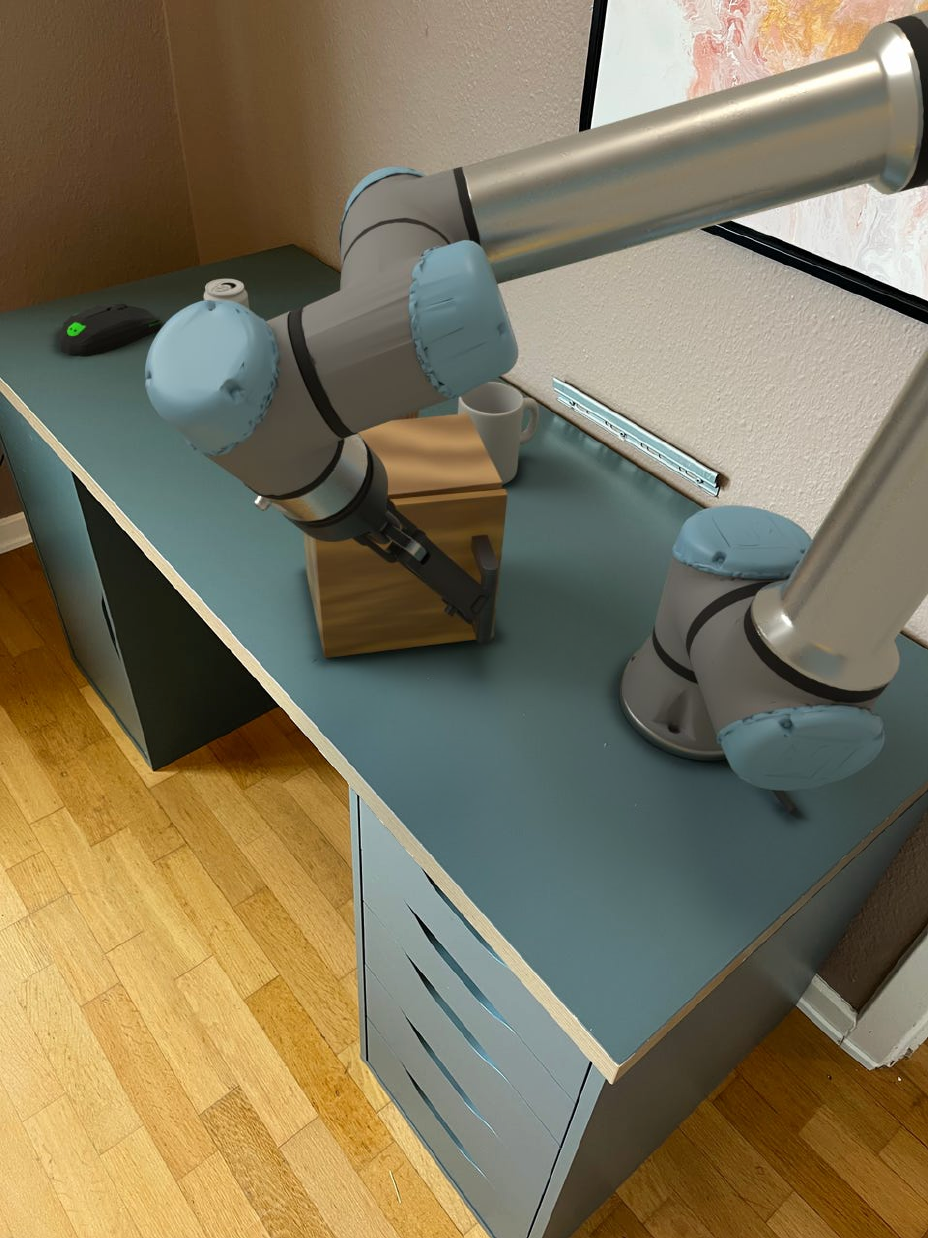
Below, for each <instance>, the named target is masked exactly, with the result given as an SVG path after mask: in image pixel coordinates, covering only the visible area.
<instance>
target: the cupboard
mask: <svg viewBox="0 0 928 1238" xmlns="http://www.w3.org/2000/svg"><path fill="white" fill-rule="evenodd" d="M359 434H360V435H361V438H362V439H363V440H364V441H365V442H366V443H367V444H368V445H369V447H370V448H371V449H372V450H373V451H374V452H375V454H376V455H377V456H378V457H379V458H380V460H381V461H382V463H383V465H384V467H385V470H386V473H387V477H388V495H387V498H388V499H401V498H412V497H423V496H434V495H445V494H456V493H467V492H478V491H489V490H500V489H503V485H502V480H501V478H500V476H499V474H498V472H497V470H496V468H495V466H494V464H493V462H492V460H491V458H490V456H489V454H488V452H487V450H486V448H485V446H484V444H483V442H482V440H481V438H480V436H479V434H478V432H477V430H476V428H475V426H474V424H473V422H472V420H471V418H470V416H469V414H468V413H466V414H458V413H456V414H455V413H454V414H446V415H445V414H444V415H435V416H434V415H433V416H425V417H418V418H412V419H401V420H392V421H389V422H386V423H383V424H381V425H378V426H375V427H372V428H370V429H367V430H364V431H361V432H359ZM302 535H303V546H304V558H305V569H306V576H307V581H308V586H309V587H308V588H309V591H310V597H311V600H312V605H313V609H314V615H315V619H316V624H317V629H318V634H319V639H320V643H321V648H322V650H323V640H322V627H321V614H320V602H319V589H318V576H317V563H316V550H315V538H312V537H310V536H309V535H307V534H306V533H304V532H303V531H302Z"/></svg>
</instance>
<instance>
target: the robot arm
mask: <svg viewBox="0 0 928 1238" xmlns="http://www.w3.org/2000/svg"><path fill="white" fill-rule="evenodd" d="M866 184H867V185H869V186H870V187H872V188H873V189H874V190H876V191H877V192H878V193H880V194H882V195H887V196H889V195H890V196H891V195H895V194H898V193H901V192H905V191H909V190H912V189H916V188H917V189H918V188H921V187H928V9H926V10H923V11H919V12H916V13H911V14H909V15H905V16H901V17H899V18H895V19H891V20H888V21H885V22H882V23H879V24H877V25H875V26H873V27H872V28H870V30H869V31H868V32H867V33H866V35H865V36H864V38H863V39H862V41H861V43H859V46H858V47H857V49H856V50H854V51H850V52H847V53H843V54H839V55H837V56H833V57H830V58H827V59H823V60H820V61H816V62H812V63H809V64H807V65H802V66H800V67H795V68H793V69H790V70H786V71H783V72H779V73H776V74H771V75H769V76H765V77H762V78H758V79H755V80H752V81H749V82H745V83H742V84H739V85H736V86H731V87H728V88H724V89H722V90H718V91H715V92H711V93H708V94H705V95H701V96H698V97H694V98H691V99H687V100H685V101H681V102H676V103H674V104H670V105H668V106H664V107H660V108H658V109H653V110H651V111H646V112H644V113H640V114H637V115H633V116H630V117H627V118H623V119H619V120H616V121H613V122H610V123H607V124H603V125H600V126H597V127H593V128H590V129H586V130H583V131H579V132H576V133H573V134H570V135H566V136H563V137H559V138H556V139H552V140H549V141H546V142H541V143H539V144H536V145H532V146H529V147H525V148H522V149H519V150H515V151H511V152H508V153H504V154H501V155H498V156H495V157H491V158H488V159H485V160H480V161H477V162H475V163H471V164H467V165H464V166H459V167H455V168H451V169H447V170H443V171H439V172H436V173H432V174H428V175H426V174H424V173H423V172H421V171H418V170H416V169H413V168H410V167H406V166H405V167H404V166H387V167H383V168H380V169H376V170H375V171H373V172H370V174H368V175H366V176H365V177H363V179H362V180H360V181H359V182H358V183H357V185H356V186H355V188H354V189H353V190H352V192H351V193H350V195H349V197H348V199H347V201H346V205H345V209H344V212H343V216H342V219H341V223H340V225H339V228H340V229H339V234H338V243H339V251H338V252H339V256H340V267H341V268H340V282H339V283H340V285H339V286H340V287H339V290H338V291H336V292H334V293H332V294H330V295H327V296H326V297H323V298H321V299H319V300H317V301H314V302H311V303H309V304H307V305H305V306H304V305H303V306H301V307H298V308H295V309H294V310H289V311H287V312H284V313H282V314H280V315H278V316H275V317H273V318H271V319H268V320H265V319H264V318H262V317H260V316H259V315H257V314H256V313H255V312H253V311H252V310H251V309H250V308H249V309H248V308H246V307H245V306H243V305H241V304H239V303H237V302H234V301H212V300H204V299H203V300H200V301H198V302H195V303H192V304H190V305H188V306H186V307H184V308H182V309H181V310H179V311H178V312H176V313H175V314H173V316H172V317H170V318H169V319H168V320H167V321H166V322H165V324H163V326H161V328H160V329H159V331H158V332H157V333H156V336H155V337H154V339H153V341H152V342H151V345H150V347H149V349H148V352H147V356H146V360H145V366H144V382H145V385H144V386H145V390H146V393H147V396H148V399H149V401H150V404H151V405H152V407H153V408H154V409H155V411H156V413H157V414H158V415H159V416H160V417H161V419H163V420H164V421H165V422H166V423H167V424H168V425H170V426H171V428H172V429H174V430H175V431H176V432H177V433H178V434H179V435H181V437H182V438H184V440H185V441H186V444H187V445H189V446H190V447H191V449H192V450H194V451H195V452H196V453H199V454H200V455H203V456H205V457H206V458H207V459H209V460H210V461H212V462H213V463H215V464H216V465H218V466H219V467H221V468H222V469H223V470H225V471H226V472H228V473H229V474H230V475H232V476H234V477H235V478H237V480H239V481H241V482H242V483H243V485H244V486H245V487H246V488H247V489H249V490H251V491H252V492H253V493H254V494H256V495H257V497H256V499H255V500H254V502H253V503H254V506H255V507H256V508H257V509H258V510H260V511H262V512H264V511H265V512H266V511H267V510H268V509H269V507H272V508H274V509H275V510H276V511H278V512H279V513H280V514H281V515H282V516H283V517H284V518H285V519H287V521H289V522H290V523H291V524H293V525H294V526H295V527H297V528H298V529H299V530H300V531H302V533H303V532H304V533H306V534H307V535H309V536H310V537H312V538H315V539H317V540H320V541H325V542H339V541H345V540H348V539H351V538H352V539H353V540H355V541H356V542H357V543H359V544H361V545H363V546H368V547H369V548H370V549H371V550H373V551H374V552H375V553H376V554H378V555H379V556H380V557H381V558H383V559H384V560H386V561H387V562H389V563H394V562H398V563H400V564H401V565H402V566H403V567H405V568H406V569H407V570H408V571H410V572H411V573H412V574H413V575H415V576H416V577H417V578H418V579H420V580H421V581H422V582H423V583H425V584H426V585H427V586H428V587H430V588H431V589H432V590H433V591H435V592H436V593H437V594H438V595H440V596H441V597H442V599H441V600H442V601H443V602H444V603H445V604H446V605H447V607H446V608H445V609H444V612H446V613H447V614H448V615H450V616H451V617H453V616H454V615H455V613H456V614H457V615H458V616H459V617H461V618H462V619H463V620H464V621H465V622H467V623H468V624H469V625H470V624H471V623H472V622H473V620H474V619H475V618H476V617H477V615H478V614H479V613H480V611H481V610H482V609H483V607H484V606H485V605H486V603H487V602H488V601H489V599H490V598H491V596H492V595H491V593H490V592H489V590H488V589H487V588H485V587H482V586H481V585H480V584H479V583H478V582H477V581H476V580H474V579H473V578H472V577H471V576H470V575H469V574H468V573H467V572H465V571H464V570H463V569H462V568H461V567H460V566H459V565H457V564H456V563H455V562H454V561H453V560H452V559H451V558H449V557H448V556H447V555H446V554H445V553H444V552H443V551H441V550H440V549H439V548H438V547H437V546H436V545H435V544H434V543H433V542H432V541H431V540H430V539H429V538H428V537H427V536H426V533H425V532H424V531H422V530H419V529H418V528H417V527H416V526H415V525H414V524H413V523H412V522H411V521H410V520H408V519H407V518H406V517H405V516H404V515H402V514H401V513H400V512H399V511H398V510H397V509H396V507H395V504H394V503H393V502H392V501H391V500H390V499H388V498H387V495H388V477H387V473H386V470H385V467H384V465H383V463H382V461H381V460H380V458H379V457H378V456H377V455H376V454H375V452H374V451H373V450H372V449H371V448H370V447H369V445H368V444H367V443H366V442H365V441H364V440H363V439H362V438H361V435H360V434H359V432H361V431H364V430H367V429H370V428H372V427H375V426H378V425H381V424H383V423H386V422H389V421H392V420H394V419H397V418H400V417H403V416H405V415H408V414H411V413H414V412H416V411H418V412H419V411H422V410H424V409H427V408H430V407H433V406H435V405H438V404H441V403H443V402H447V401H449V400H452V399H453V400H456V399H459V397H462V396H464V395H466V393H467V392H470V391H471V390H472V389H474V388H476V387H478V386H480V385H482V384H484V383H487V382H492V381H493V380H496V379H497V378H499V377H502V376H504V375H507V374H508V373H509V372H510V371H511V370H512V369H514V367H515V366H516V364H517V361H518V359H519V346H518V342H517V338H516V335H515V332H514V329H513V326H512V323H511V320H510V315H509V312H508V310H507V307H506V304H505V301H504V298H503V296H502V293H501V291H500V288H499V284H503V283H507V282H512V281H515V280H518V279H522V278H525V277H528V276H532V275H537V274H541V273H545V272H547V271H551V270H554V269H558V268H563V267H566V266H570V265H573V264H577V263H580V262H583V261H587V260H591V259H595V258H598V257H603V256H606V255H609V254H614V253H616V252H620V251H624V250H628V249H631V248H636V247H639V246H642V245H647V244H651V243H654V242H658V241H661V240H664V239H668V238H673V237H676V236H679V235H682V234H686V233H690V232H694V231H697V230H702V229H705V228H709V227H713V226H716V225H720V224H724V223H727V222H731V221H734V220H738V219H742V218H745V217H749V216H752V215H757V214H759V213H764V212H768V211H771V210H775V209H778V208H782V207H785V206H789V205H792V204H796V203H800V202H804V201H807V200H812V199H815V198H819V197H822V196H825V195H829V194H833V193H837V192H841V191H843V190H848V189H852V188H854V187H858V186H863V185H866ZM400 523H401V525H402V529H401V531H400V530H399V529H400ZM369 538H370V539H369ZM390 540H391V541H392V542H391V544H390V545H389V546H388V547H387V548H386V549H385V550H383V549H382V548H381V547H379V546H378V545H377V544H376V543H379V544H383V545H384V544H388V543H389V542H390ZM373 541H374V542H376V543H374V542H373ZM671 552H672V554H671V559H670V562H669V566H668V569H667V573H666V577H665V581H664V586H663V589H662V593H661V597H660V601H659V605H658V609H657V612H656V617H655V621H654V625H653V629H652V632H651V633H650V634H649V635H648V636H647V638H646V639H645V641H644V643H643V645H642V646H641V647H640V648H639V649H637V650H636V651H635V653H633V655H632V656H631V657H630V658H629V660H628V662H627V663H626V666H625V668H624V670H623V672H622V676H621V679H620V680H621V681H620V685H619V692H618V693H619V695H618V697H619V702H620V707H621V709H622V711H623V714H624V716H625V718H626V719H627V721H628V722H629V724H630V725H631V726H632V727H633V729H634V730H635V731H636V732H637V734H639V735H640V736H641V737H643V738H644V739H645V740H647V741H648V742H649V743H651V744H652V745H654V747H655V746H656V747H657V748H659V749H661V750H663V751H665V752H668V753H669V754H671V755H675V756H677V757H681V758H685V759H690V760H693V761H694V760H695V761H704V762H705V761H706V762H707V761H708V762H711V761H712V762H713V761H723V760H724V761H725V760H727V762H728V764H729V766H730V769H731V770H732V771H733V772H734V773H735V774H736V775H737V776H738V778H740V779H741V780H742V781H744V782H745V783H747V784H749V785H752V786H754V787H757V788H759V789H764V790H770V791H772V793H773V794H774V795H775V797H776V798H777V799H778V801H779V803H780V804H781V805H782V806H783V807H784V809H785V810H786V811H787V812H788V813H789V815H793V814H795V812H796V811H797V810H798V808H797V806H796V805H795V804H794V803H793V802H792V800H791V799H790V797H789V796H788V795H787V794H786V792H785V791H801V790H809V789H814V788H818V787H822V786H824V785H829V784H832V783H836V782H839V781H841V780H843V779H846V778H848V777H850V776H852V775H854V774H855V773H857V772H859V771H861V770H862V769H863V768H865V767H867V766H868V765H869V764H870V763H872V762H873V761H874V760H875V759H876V758H877V757H878V755H879V754H880V752H881V751H882V749H883V748H884V745H885V741H886V740H885V739H886V734H885V731H884V722H883V721H882V718H881V716H880V715H878V714H877V713H876V712H875V704H876V702H877V700H878V699H879V698H880V696H881V695H882V694H883V692H885V690H886V688H887V687H888V686H889V685H890V683H891V682H892V680H893V679H894V678H895V676H896V674H897V673H898V671H899V667H900V653H899V650H898V647H897V644H896V641H895V640H896V639H897V637H898V636H899V634H900V633H901V632H902V630H903V629H904V628H905V626H906V625H907V623H908V622H909V621H910V619H911V618H912V617H913V616H914V614H915V613H916V611H917V610H918V608H919V607H920V605H921V604H922V603H923V601H924V600H925V599H926V598H927V596H928V344H927V345H926V347H925V349H924V350H923V352H922V354H921V355H920V357H919V358H918V360H917V362H916V363H915V366H914V367H913V369H912V370H911V372H910V374H909V376H908V377H907V379H906V380H905V383H904V384H903V386H902V387H901V389H900V391H899V392H898V394H897V396H896V397H895V399H894V401H893V403H891V406H890V407H889V409H888V411H887V413H886V414H885V416H884V418H883V419H882V421H881V423H880V424H879V426H878V428H877V430H876V431H875V433H874V434H873V436H872V438H871V440H870V441H869V443H868V445H867V446H866V448H865V449H864V451H863V453H862V454H861V456H860V458H859V460H858V461H857V463H856V465H855V466H854V468H853V469H852V472H851V473H850V475H849V476H848V478H847V480H846V481H845V483H844V485H843V487H842V488H841V490H840V491H839V493H838V495H837V497H836V498H835V500H834V502H833V503H832V505H831V506H830V508H829V509H828V512H827V514H826V515H825V517H824V518H823V520H822V522H821V523H820V525H819V527H818V528H817V530H816V532H815V534H814V535H813V537H812V538H811V536H810V534H809V533H808V532H807V531H806V530H805V529H804V528H803V527H802V526H801V525H799V524H797V522H795V521H794V520H791V519H790V518H788V517H785V516H783V515H781V514H779V513H776V512H772V511H770V510H767V509H765V508H764V509H763V508H759V507H756V506H749V505H741V504H740V505H739V504H738V505H736V504H728V505H715V506H711V507H707V508H704V509H701V510H699V511H697V512H696V513H694V514H693V515H692V516H690V517H689V518H687V519H686V520H685V522H683V525H682V526H681V528H680V531H679V533H678V536H677V538H676V540H675V542H674V544H673V546H672V548H671Z"/></svg>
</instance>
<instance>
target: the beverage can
mask: <svg viewBox="0 0 928 1238" xmlns="http://www.w3.org/2000/svg"><path fill="white" fill-rule="evenodd" d="M204 288H205V289H204V290H205V291H204V293H203V301H204V300H212V301H234V302H237V303H239V304H241V305H243V306H245V307H246V308H248V309H249V310H250V304H249V303H250V302H249V295H248V292H247V290H246V289H245V285H244V283H243V282H242V281H240V280H237V279H234V278H217V279H213V280H210V281H209V282H207V283H206V284H205V286H204Z"/></svg>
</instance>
